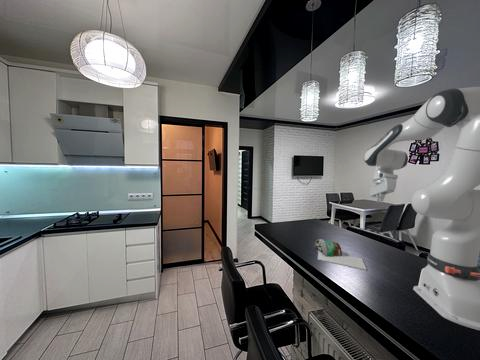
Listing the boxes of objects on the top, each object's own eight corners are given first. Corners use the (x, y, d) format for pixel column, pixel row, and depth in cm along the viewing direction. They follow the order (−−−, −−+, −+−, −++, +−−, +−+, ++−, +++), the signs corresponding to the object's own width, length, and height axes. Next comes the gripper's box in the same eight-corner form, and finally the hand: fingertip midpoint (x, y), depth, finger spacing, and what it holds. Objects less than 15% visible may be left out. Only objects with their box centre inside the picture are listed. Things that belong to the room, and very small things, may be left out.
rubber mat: (366, 270, 84) (366, 269, 84) (317, 259, 92) (317, 258, 92) (361, 259, 95) (362, 258, 95) (318, 250, 103) (318, 250, 103)
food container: (344, 244, 95) (323, 243, 95) (343, 257, 95) (322, 255, 95) (332, 237, 107) (314, 236, 108) (331, 248, 107) (313, 246, 108)
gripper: (368, 181, 117) (365, 203, 114) (385, 172, 97) (382, 198, 95) (380, 183, 115) (377, 206, 113) (400, 174, 96) (397, 201, 93)
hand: (379, 202), depth 104 cm, fingers closed
